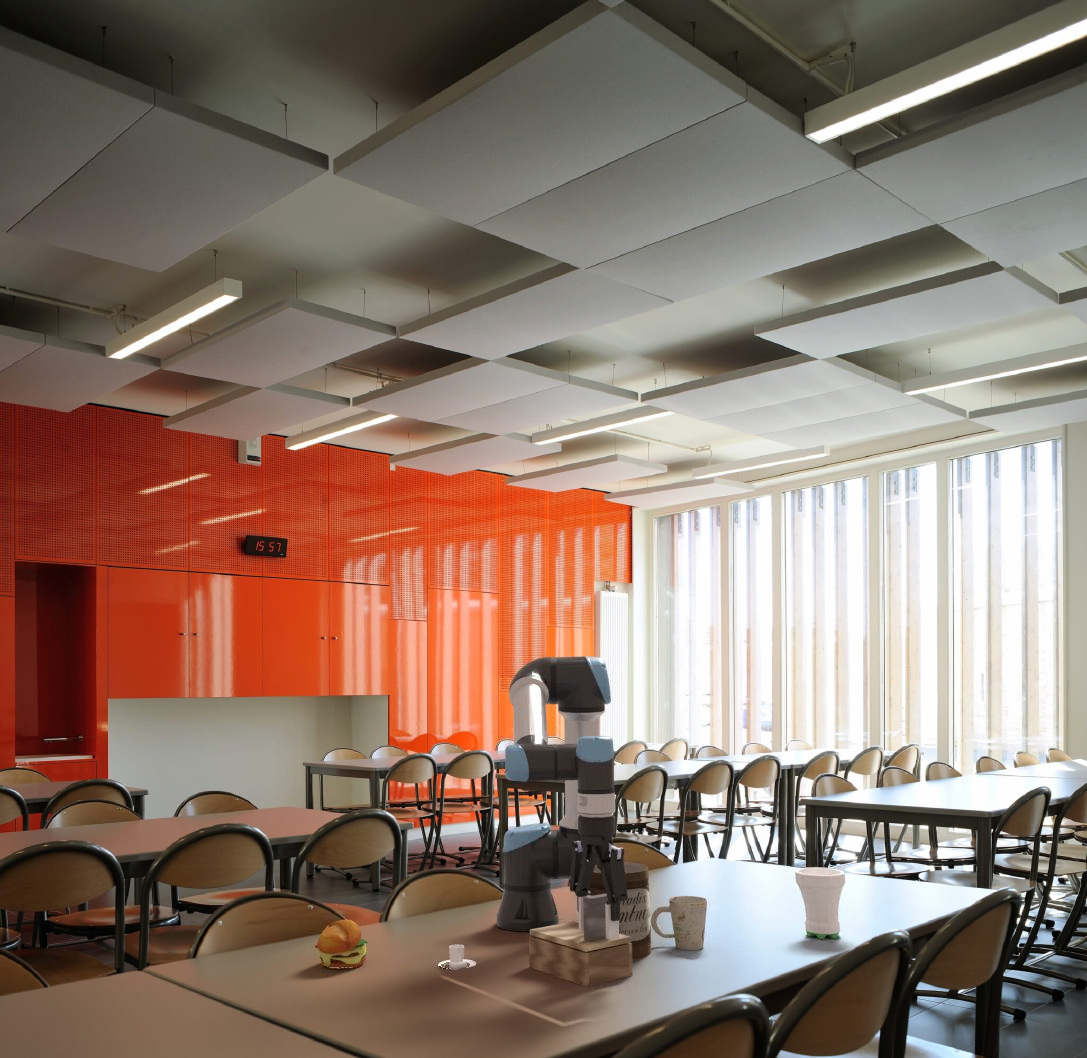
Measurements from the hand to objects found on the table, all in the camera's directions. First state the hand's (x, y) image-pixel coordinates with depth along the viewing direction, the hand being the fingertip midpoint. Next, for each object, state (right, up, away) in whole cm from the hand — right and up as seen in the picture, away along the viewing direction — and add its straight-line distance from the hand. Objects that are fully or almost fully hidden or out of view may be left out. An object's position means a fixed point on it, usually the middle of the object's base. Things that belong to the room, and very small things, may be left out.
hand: (598, 934), depth 200 cm
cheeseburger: (-53, -12, +12) cm, 56 cm away
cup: (+53, -14, +33) cm, 64 cm away
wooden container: (+5, -12, +18) cm, 22 cm away
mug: (+19, -13, +24) cm, 33 cm away
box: (-4, -9, +3) cm, 11 cm away
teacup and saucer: (-31, -11, +10) cm, 35 cm away
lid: (-4, -3, +4) cm, 6 cm away
